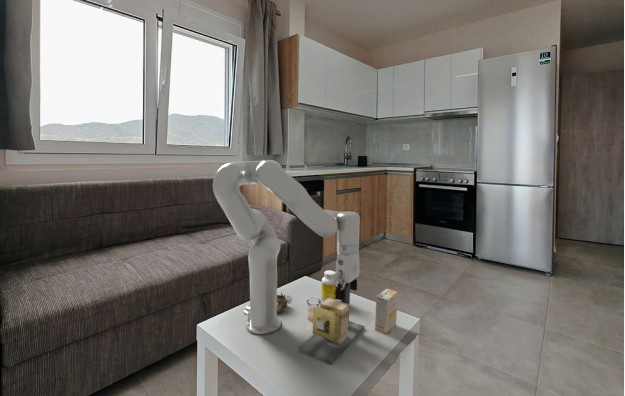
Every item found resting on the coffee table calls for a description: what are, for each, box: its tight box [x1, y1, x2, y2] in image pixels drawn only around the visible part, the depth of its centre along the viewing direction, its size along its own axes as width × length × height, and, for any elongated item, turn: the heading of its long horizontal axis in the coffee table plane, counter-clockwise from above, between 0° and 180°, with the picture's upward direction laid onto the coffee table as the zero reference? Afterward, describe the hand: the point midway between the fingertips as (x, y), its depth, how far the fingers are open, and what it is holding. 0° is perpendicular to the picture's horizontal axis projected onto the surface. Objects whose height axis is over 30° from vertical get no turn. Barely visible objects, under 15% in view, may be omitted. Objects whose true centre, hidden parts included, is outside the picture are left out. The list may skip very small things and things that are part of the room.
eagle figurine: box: [277, 292, 293, 315], centre depth 128 cm, size 8×7×9 cm
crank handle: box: [317, 283, 351, 331], centre depth 108 cm, size 3×18×14 cm, turn 148°
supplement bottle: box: [320, 269, 338, 303], centre depth 135 cm, size 7×7×13 cm
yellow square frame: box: [312, 306, 340, 342], centre depth 103 cm, size 8×3×8 cm, turn 58°
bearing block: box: [298, 298, 365, 365], centre depth 108 cm, size 12×24×13 cm, turn 148°
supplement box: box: [374, 288, 399, 335], centre depth 116 cm, size 8×5×13 cm, turn 141°
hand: (346, 294), depth 114 cm, fingers open, 9 cm apart
